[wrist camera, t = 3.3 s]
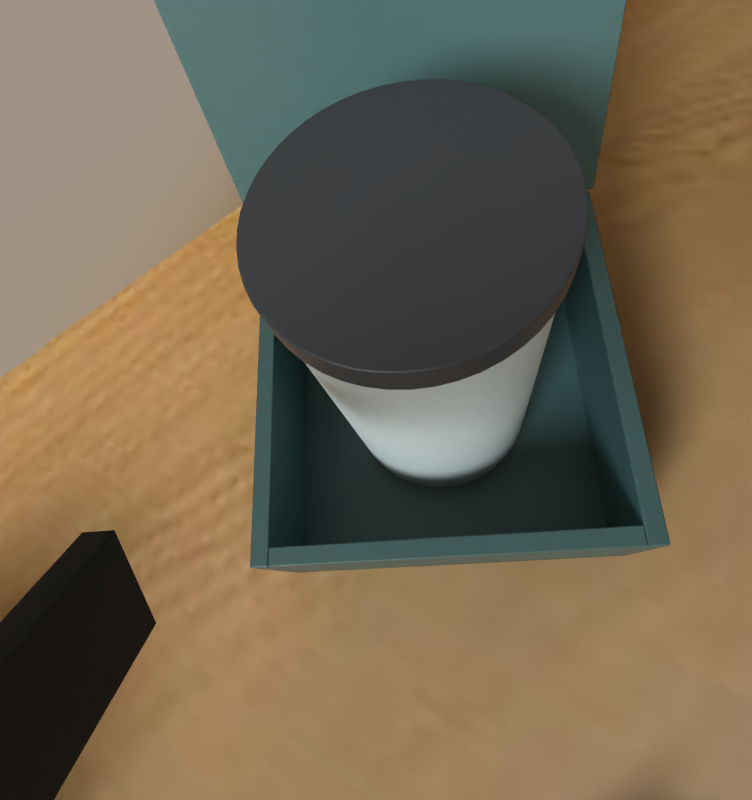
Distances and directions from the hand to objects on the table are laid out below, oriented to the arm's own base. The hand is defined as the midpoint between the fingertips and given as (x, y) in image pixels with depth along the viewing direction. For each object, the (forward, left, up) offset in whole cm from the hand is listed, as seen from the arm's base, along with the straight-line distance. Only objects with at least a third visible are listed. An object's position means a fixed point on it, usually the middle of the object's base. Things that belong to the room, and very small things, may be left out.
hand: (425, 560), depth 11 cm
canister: (+4, -8, -16) cm, 18 cm away
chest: (+4, -8, -17) cm, 19 cm away
